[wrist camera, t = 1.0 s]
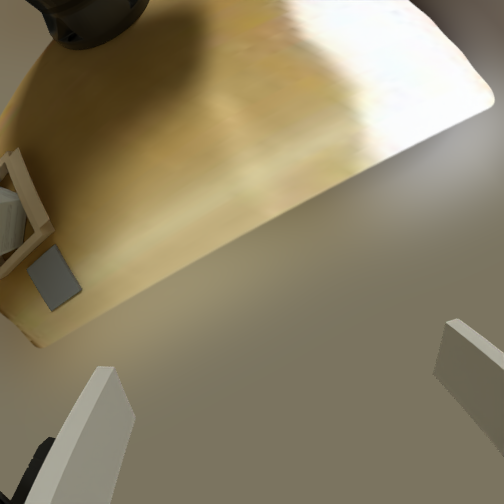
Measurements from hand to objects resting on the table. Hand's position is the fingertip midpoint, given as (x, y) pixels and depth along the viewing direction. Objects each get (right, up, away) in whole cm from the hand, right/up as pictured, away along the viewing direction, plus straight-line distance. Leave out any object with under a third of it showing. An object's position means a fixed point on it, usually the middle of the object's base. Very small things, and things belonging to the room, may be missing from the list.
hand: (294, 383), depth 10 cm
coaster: (-29, +1, +24) cm, 37 cm away
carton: (-36, +10, +21) cm, 43 cm away
